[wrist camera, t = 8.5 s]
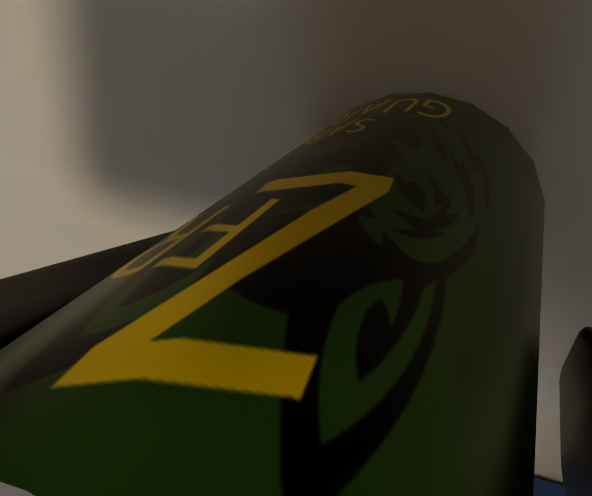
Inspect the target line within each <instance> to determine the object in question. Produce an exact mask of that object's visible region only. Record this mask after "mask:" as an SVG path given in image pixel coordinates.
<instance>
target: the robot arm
mask: <svg viewBox="0 0 592 496" xmlns="http://www.w3.org/2000/svg"><path fill="white" fill-rule="evenodd" d="M172 232H174V231H172ZM172 232H168V233H164V234H161V235H157V236H154V237H150V238H147V239H143V240H139V241H136V242H132V243H129V244H125V245H122V246H118V247H114V248H111V249H107V250H104V251H100V252H97V253H93V254H89V255H86V256H82V257H79V258H75V259H72V260H68V261H64V262H61V263H57V264H54V265H50V266H47V267H43V268H39V269H36V270H32V271H29V272H25V273H21V274H18V275H14V276H11V277H7V278H4V279H0V350H1V349H2V348H4V347H5V346H7V345H8V344H10V343H11V342H13V341H14V340H16V339H17V338H19V337H20V336H21V335H23V334H24V333H26V332H27V331H29V330H30V329H32V328H33V327H35V326H36V325H38V324H39V323H41V322H42V321H43V320H45V319H46V318H48V317H49V316H51V315H52V314H54V313H55V312H57V311H58V310H60V309H61V308H63V307H64V306H65V305H67V304H68V303H70V302H71V301H73V300H74V299H76V298H77V297H79V296H80V295H82V294H83V293H85V292H86V291H87V290H89V289H90V288H92V287H93V286H95V285H96V284H98V283H99V282H101V281H102V280H104V279H105V278H106V277H108V276H109V275H111V274H112V273H114V272H115V271H117V270H118V269H120V268H121V267H123V266H124V265H126V264H127V263H128V262H130V261H131V260H133V259H134V258H136V257H137V256H139V255H140V254H142V253H143V252H145V251H146V250H148V249H149V248H150V247H152V246H153V245H155V244H156V243H158V242H159V241H161V240H162V239H164V238H165V237H167V236H168V235H170V234H171V233H172ZM559 385H560V439H561V467H562V476H563V484H564V490H565V496H592V328H591V327H584V328H583V329H581V330H580V332H579V333H578V335H577V337H576V339H575V341H574V343H573V345H572V347H571V349H570V351H569V353H568V356H567V358H566V360H565V362H564V364H563V366H562V369H561V373H560V381H559Z"/></svg>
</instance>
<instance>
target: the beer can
mask: <svg viewBox="0 0 592 496" xmlns="http://www.w3.org/2000/svg"><path fill="white" fill-rule="evenodd" d="M544 206H545V200H544V197H543V193H542V190H541V187H540V183H539V180H538V176H537V173H536V170H535V166H534V163H533V161H532V160H531V158H530V157H529V156H528V154H527V153H526V152H525V150H524V149H523V148H522V146H521V145H520V144H519V142H518V141H517V140H516V138H515V137H514V136H513V134H512V133H511V132H510V130H509V129H508V128H507V127H505V126H504V125H502V124H501V123H499V122H498V121H496V120H495V119H493V118H492V117H490V116H489V115H487V114H486V113H485V112H483V111H482V110H480V109H479V108H477V107H476V106H474V105H473V104H470V103H466V102H463V101H459V100H455V99H452V98H448V97H445V96H441V95H437V94H434V93H414V94H393V95H388V96H385V97H383V98H380V99H378V100H375V101H372V102H370V103H367V104H365V105H362V106H360V107H357V108H355V109H353V110H351V111H350V112H348V113H347V114H345V115H344V116H343V117H341V118H340V119H338V120H337V121H335V122H334V123H332V124H331V125H329V126H328V127H326V128H325V129H323V130H322V131H321V132H319V133H318V134H316V135H315V136H313V137H312V138H310V139H309V140H307V141H306V142H304V143H303V144H301V145H300V146H299V147H297V148H296V149H294V150H293V151H291V152H290V153H288V154H287V155H285V156H284V157H282V158H281V159H279V160H278V161H277V162H275V163H274V164H272V165H271V166H269V167H268V168H266V169H265V170H263V171H262V172H260V173H259V174H257V175H256V176H255V177H253V178H252V179H250V180H249V181H247V182H246V183H244V184H243V185H241V186H240V187H238V188H237V189H236V190H234V191H233V192H231V193H230V194H228V195H227V196H225V197H224V198H222V199H221V200H219V201H218V202H216V203H215V204H214V205H212V206H211V207H209V208H208V209H206V210H205V211H203V212H202V213H200V214H199V215H197V216H196V217H194V218H193V219H192V220H190V221H189V222H187V223H186V224H184V225H183V226H181V227H180V228H178V229H177V230H175V231H174V232H172V233H171V234H170V235H168V236H167V237H165V238H164V239H162V240H161V241H159V242H158V243H156V244H155V245H153V246H152V247H150V248H149V249H148V250H146V251H145V252H143V253H142V254H140V255H139V256H137V257H136V258H134V259H133V260H131V261H130V262H128V263H127V264H126V265H124V266H123V267H121V268H120V269H118V270H117V271H115V272H114V273H112V274H111V275H109V276H108V277H106V278H105V279H104V280H102V281H101V282H99V283H98V284H96V285H95V286H93V287H92V288H90V289H89V290H87V291H86V292H85V293H83V294H82V295H80V296H79V297H77V298H76V299H74V300H73V301H71V302H70V303H68V304H67V305H65V306H64V307H63V308H61V309H60V310H58V311H57V312H55V313H54V314H52V315H51V316H49V317H48V318H46V319H45V320H43V321H42V322H41V323H39V324H38V325H36V326H35V327H33V328H32V329H30V330H29V331H27V332H26V333H24V334H23V335H21V336H20V337H19V338H17V339H16V340H14V341H13V342H11V343H10V344H8V345H7V346H5V347H4V348H2V349H1V350H0V496H533V491H534V465H535V439H536V413H537V387H538V361H539V336H540V310H541V284H542V258H543V232H544Z"/></svg>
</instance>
